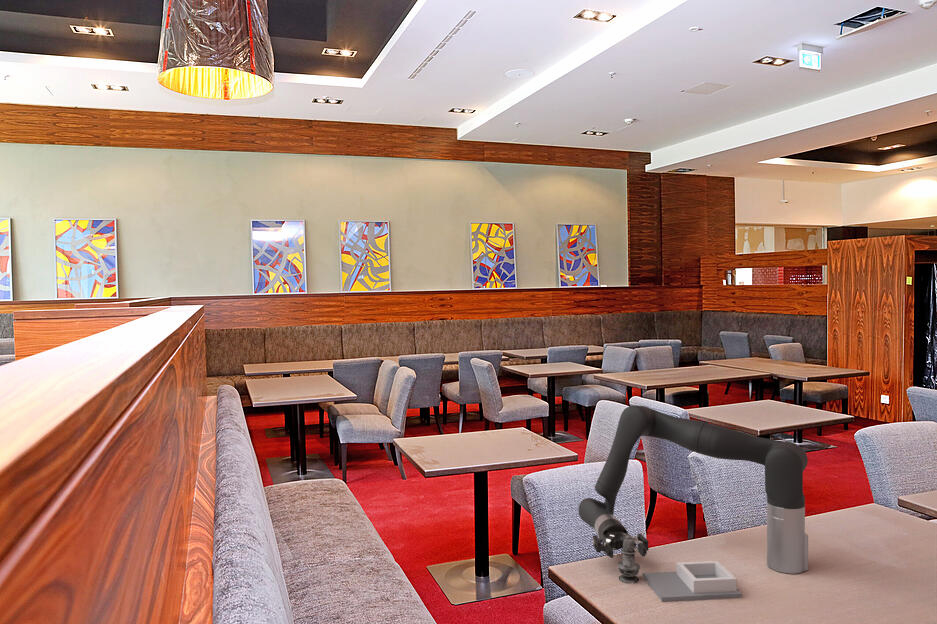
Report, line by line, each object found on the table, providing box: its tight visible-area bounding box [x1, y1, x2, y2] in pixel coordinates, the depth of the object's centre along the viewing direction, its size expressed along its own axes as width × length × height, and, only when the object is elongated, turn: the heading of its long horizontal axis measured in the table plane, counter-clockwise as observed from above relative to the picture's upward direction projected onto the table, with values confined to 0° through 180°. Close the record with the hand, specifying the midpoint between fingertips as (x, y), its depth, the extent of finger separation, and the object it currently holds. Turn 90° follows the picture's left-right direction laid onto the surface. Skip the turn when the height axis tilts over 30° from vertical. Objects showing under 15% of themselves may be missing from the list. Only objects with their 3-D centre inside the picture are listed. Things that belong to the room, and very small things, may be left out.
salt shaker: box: [616, 533, 641, 585], centre depth 176 cm, size 6×6×12 cm
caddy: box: [642, 560, 743, 602], centre depth 171 cm, size 20×14×4 cm
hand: (628, 553), depth 176 cm, fingers open, 8 cm apart
